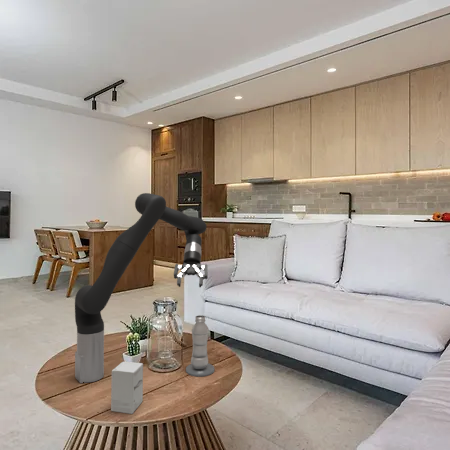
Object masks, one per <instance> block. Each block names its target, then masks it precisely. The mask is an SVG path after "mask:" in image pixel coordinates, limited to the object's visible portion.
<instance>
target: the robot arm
mask: <svg viewBox="0 0 450 450" xmlns="http://www.w3.org/2000/svg"><path fill="white" fill-rule="evenodd" d="M134 207H135V210H136V211H137V213H139V214H140V215H141V216H140V217H139V219H138V220H137V221H136V222H135V223H134V224H133V225H131V226H130V227H129V228H127V229H125V230H124V231H123V232H122V233H120V234H119V235H118V236H117V237H116V238H115V240H114V242H113V243H112V244H111V246H110V247H109V249H108V251H107V253H106V257H105V259H104V263H103V266H102V270H101V272H100V273H99V276H98V278H97V279H96V280H95V281H94V283H93V285H90V284H89V285H88V284H87V285H84V286H82V287H81V288H79V289H78V290H77V292H76V294H75V297H74V318H75V326H76V351H74V378H75V379H76V380H77V381H78V382H79V384H83V382H84V383H94V382H97V381H99V380H101V379H102V378H104V375H105V373H104V372H105V365H104V364H105V356H104V355H105V321H104V319H103V317H102V314H101V312H102V311H103V310H104V309H105V308H106V306H107V304H108V302H109V301H110V298H111V296H112V294H113V292H114V291H115V289H116V286H117V285H118V284H119V283H118V282H119V281H120V279H121V277H122V276H123V274H124V273H125V272H126V270H127V268H128V266H129V265H130V264H131V262H132V260H133V259H134V257H135V256H136V254H137V252H138V251H139V248H140V247H141V245H143V242H144V241H145V239H146V237H147V236H148V235H149V234H150V232H151V230H152V229H153V228H154V226H155V225H156V224H157V223H158V222H159V220H161V221H163V222H165V223H166V224H169V225H171V226H173V227H175V228H177V229H180V230H182V231H184V234H185V239H186V240H185V247H184V248H185V249H184V252H183V262H182V264H181V265H180V264H178V263H176V264H175V265H174V269H173V278H174V279H176V285H177V287H178V288H180V287H181V284H182V279H183V278H184V277H186V276H197V278H198V279H199V283H198V287H199V288H202V287H203V285H204V280H208V277H209V276H208V275H209V274H208V271H209V270H208V264H206V263H205V264H204V265H201V263H202V242H203V240H202V236H200V235H201V234H204V233H205V232H206V230H207V223H206V222H205V221H204V219H202V218H201V217H197V216H189V215H187V214H186V213H184V212H182V211H180V210H177V209H174V208H172V207H168V206H167V201H166V199H165V197H164V196H161V195H157V194H155V193H154V194H153V193H148V192H144V193H141V194H139V195H138V196H137V197H136V199H135V201H134ZM180 270H181V271H180ZM201 270H202V271H203V272H204V274H203V273H202V272H201ZM179 271H180V272H179Z"/></svg>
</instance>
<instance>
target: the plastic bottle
mask: <svg viewBox="0 0 450 450" xmlns="http://www.w3.org/2000/svg"><path fill="white" fill-rule="evenodd" d="M194 322H195V324H194V325H193V327H192V329H191V336H192V337H191V338H192V354H191V358H190V364H191V365H192V367H193V368H194V369H204V368H206V367H207V365H208V363H209V356H208V339H209V338H208V337H209V331H210V330H209V327H208V325H207V324H206V316H205V315H203V314H202V315H201V314H198V315H196V316H195V321H194Z"/></svg>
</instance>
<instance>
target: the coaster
mask: <svg viewBox="0 0 450 450" xmlns="http://www.w3.org/2000/svg"><path fill="white" fill-rule="evenodd" d="M185 367H186V368H185V372H186V374H187V375H188V376H192V377H197V378H199V377H202V378H203V377H207V376H210V375H212V374H214V372H215V366H214V365H213V364H211V363H210V362H208V365H207V367H206V368H204V369H194V368H193V367H192V365H191V363H190V364H188V365H187V366H185Z"/></svg>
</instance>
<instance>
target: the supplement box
mask: <svg viewBox="0 0 450 450" xmlns="http://www.w3.org/2000/svg"><path fill="white" fill-rule="evenodd" d="M110 390H111V395H110V397H111V398H110V401H111V402H110V404H111V405H110V411H111V412H116V413H122V414H123V413H124V414H130V415H133V414H134V412H135V411H136V410H137V409H138V407H140V406H141V404H142V403H143V399H144V397H143V395H144V394H143V393H144V391H143V390H144V363H142V362H133V361H132V362H131V361H122V362H120V363H119V364H118V365H117V366H115V367H114V368H113V369H112V370H111V388H110Z"/></svg>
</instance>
